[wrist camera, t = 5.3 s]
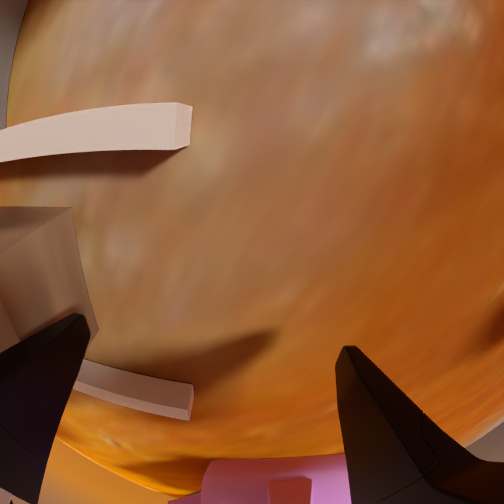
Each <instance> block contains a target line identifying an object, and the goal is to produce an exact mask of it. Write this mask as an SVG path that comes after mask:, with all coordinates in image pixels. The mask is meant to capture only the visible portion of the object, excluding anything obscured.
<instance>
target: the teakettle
mask: <svg viewBox="0 0 504 504" xmlns="http://www.w3.org/2000/svg"><path fill="white" fill-rule="evenodd" d="M168 504H351V496H350V488H349V479H348V472H347V464H346V457H345V453H339V454H329V455H317V456H302V457H284V458H260V459H213V460H211V462H210V463H209V465H208V467H207V469H206V471H205V474H204V476H203V480H202V487H201V492H200V493H197V494H194V495H190V496H187V497H183V498H179V499H176V500H172V501H168Z"/></svg>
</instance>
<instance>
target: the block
mask: <svg viewBox="0 0 504 504" xmlns="http://www.w3.org/2000/svg"><path fill="white" fill-rule="evenodd" d="M72 313H80V314H83V315H84V316H85V317H86V320H87V323H88V326H89V329H90V333H91V337H90V341H89V344H88V347H89V345H90V344H91V342H92V340H93V339H94V337H95V336H96V334H97V332H98V331H99V329H98V326H97V323H96V319H95V316H94V313H93V309H92V306H91V302H90V298H89V295H88V291H87V287H86V283H85V279H84V274H83V270H82V265H81V260H80V255H79V250H78V245H77V239H76V233H75V226H74V219H73V212H72V207H0V353H1V352H3V351H4V350H6V349H8V348H10V347H11V346H13V345H15V344H17V343H19V342H20V341H22V340H24V339H26V338H28V337H29V336H31V335H33V334H35V333H37V332H38V331H40V330H42V329H44V328H46V327H48V326H49V325H51V324H53V323H55V322H57V321H59V320H61V319H62V318H64V317H66V316H68V315H70V314H72ZM88 347H87V349H88ZM87 349H86V350H87Z"/></svg>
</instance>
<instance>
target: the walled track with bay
mask: <svg viewBox="0 0 504 504" xmlns="http://www.w3.org/2000/svg"><path fill="white" fill-rule="evenodd" d="M28 1H29V0H0V162H5V161H11V160H17V159H23V158H30V157H37V156H45V155H54V154H64V153H75V152H89V151H108V150H175V149H179V148H182V147H185V146H189V145H190V132H191V120H192V108H193V106H189V105H185V104H181V103H178V102H171V103H146V104H131V105H120V106H111V107H102V108H95V109H88V110H82V111H76V112H70V113H65V114H60V115H55V116H50V117H46V118H41V119H37V120H33V121H29V122H26V123H22V124H18V125H15V126H12V127H8V128H6V109H7V97H8V87H9V79H10V73H11V66H12V61H13V56H14V51H15V46H16V42H17V38H18V34H19V30H20V26H21V23H22V19H23V16H24V13H25V10H26V7H27V4H28ZM73 389H74V390H76V391H79V392H81V393H84V394H87V395H90V396H93V397H96V398H99V399H102V400H105V401H108V402H111V403H114V404H118V405H121V406H125V407H128V408H132V409H136V410H139V411H143V412H148V413H152V414H156V415H161V416H166V417H170V418H176V419H181V420H187V421H189V420H190V415H191V410H192V405H193V400H194V390H193V385H192V384H186V383H180V382H174V381H169V380H164V379H159V378H154V377H149V376H145V375H140V374H136V373H132V372H128V371H124V370H120V369H116V368H112V367H109V366H105V365H102V364H98V363H95V362H91V361H88V360H85V359H83V362H82V365H81V368H80V371H79V374H78V376H77V379H76V381H75V384H74V386H73Z"/></svg>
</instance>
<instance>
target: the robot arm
mask: <svg viewBox="0 0 504 504" xmlns="http://www.w3.org/2000/svg"><path fill="white" fill-rule="evenodd" d="M90 337H91V333H90V329H89V326H88V323H87V320H86V317H85V316H84V315H83V314H80V313H72V314H70V315H68V316H66V317H64V318H62V319H61V320H59V321H57V322H55V323H53V324H51V325H49V326H48V327H46V328H44V329H42V330H40V331H38V332H37V333H35V334H33V335H31V336H29V337H28V338H26V339H24V340H22V341H20V342H19V343H17V344H15V345H13V346H11V347H10V348H8V349H6V350H4V351H3V352H1V353H0V504H13V503H12V500H11V498H12V495H14V496H16V497H18V498H20V499H22V500H24V501H26V502H28V503H30V504H37V503H38V499H39V494H40V489H41V485H42V481H43V477H44V473H45V469H46V464H47V461H48V458H49V454H50V451H51V448H52V444H53V441H54V438H55V435H56V432H57V429H58V426H59V423H60V420H61V417H62V415H63V412H64V409H65V407H66V404H67V401H68V399H69V396H70V394H71V391H72V389H73V386H74V384H75V381H76V379H77V376H78V374H79V371H80V368H81V365H82V362H83V359H84V356H85V352H86V349H87V347H88V344H89V341H90ZM335 374H336V388H337V405H338V413H339V419H340V425H341V431H342V437H343V444H344V450H345V457H346V464H347V472H348V479H349V488H350V496H351V504H504V462H490V461H485V460H481V459H479V458H477V457H475V456H474V455H473V454H471V453H470V452H469V451H467V450H466V449H465V448H464V447H462V446H461V445H460V444H459V443H457V442H456V441H455V440H454V439H452V438H451V437H450V436H449V435H447V434H446V433H445V432H444V431H443V430H442V429H440V428H439V427H438V426H437V425H436V424H435V423H434V422H433V421H432V420H431V419H430V418H429V417H428V416H427V415H426V414H425V413H423V411H422V410H421V409H420V408H419V407H418V406H417V405H416V404H415V403H414V402H413V401H412V400H411V399H410V398H409V397H408V396H407V395H406V394H405V393H404V392H402V391H401V390H400V389H399V388H398V387H397V386H396V385H395V384H394V383H393V382H392V381H391V380H390V379H389V378H388V377H387V376H386V375H385V374H384V373H383V372H382V371H381V370H380V369H379V368H378V367H377V366H376V365H375V364H374V363H373V362H372V361H371V360H370V359H369V358H368V357H367V356H366V355H365V354H364V353H363V352H362V351H361V350H360V349H359V348H358V347H356V346H344V347H343V348H342V350H341V352H340V354H339V357H338V359H337V361H336V365H335Z"/></svg>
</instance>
